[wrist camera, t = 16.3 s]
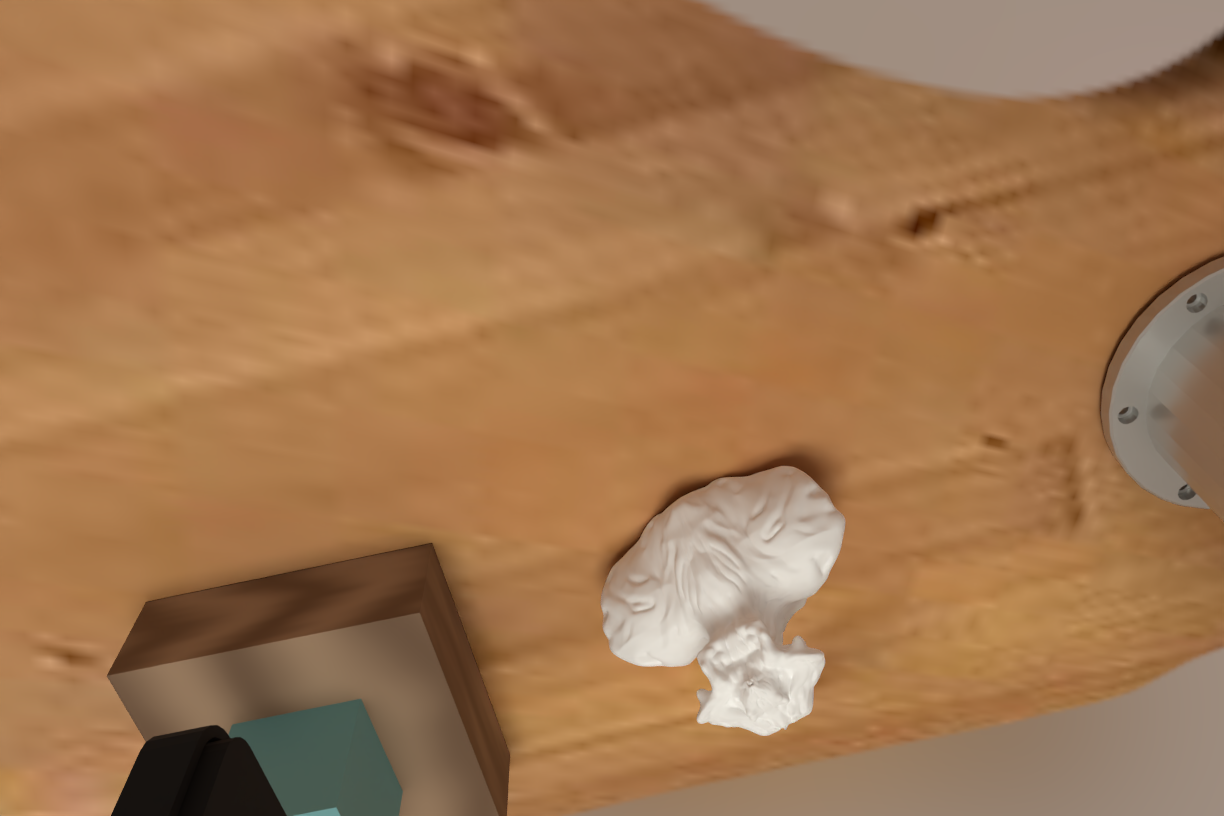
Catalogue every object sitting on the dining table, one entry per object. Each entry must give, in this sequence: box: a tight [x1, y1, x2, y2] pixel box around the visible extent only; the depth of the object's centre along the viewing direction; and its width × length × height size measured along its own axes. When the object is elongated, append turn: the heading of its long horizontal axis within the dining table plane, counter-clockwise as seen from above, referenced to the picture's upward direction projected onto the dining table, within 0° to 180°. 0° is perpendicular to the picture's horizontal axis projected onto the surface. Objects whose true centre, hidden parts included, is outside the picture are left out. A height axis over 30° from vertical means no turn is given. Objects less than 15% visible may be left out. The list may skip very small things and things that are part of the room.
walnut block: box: [107, 543, 510, 816], centre depth 52 cm, size 14×14×5 cm
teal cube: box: [228, 699, 403, 816], centre depth 47 cm, size 6×6×6 cm
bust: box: [601, 466, 845, 736], centre depth 47 cm, size 12×8×11 cm
